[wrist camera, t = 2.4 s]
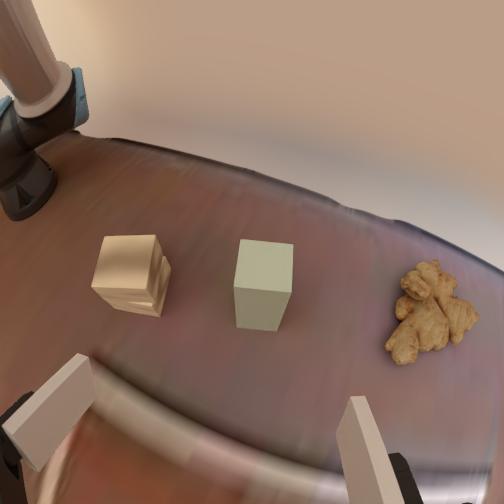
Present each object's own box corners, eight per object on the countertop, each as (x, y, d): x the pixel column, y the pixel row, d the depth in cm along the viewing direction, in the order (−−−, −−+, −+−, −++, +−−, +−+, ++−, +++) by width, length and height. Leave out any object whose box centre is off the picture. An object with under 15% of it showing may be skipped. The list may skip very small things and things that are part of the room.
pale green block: (241, 291, 37) (240, 239, 27) (279, 295, 37) (293, 244, 27) (236, 327, 34) (233, 286, 24) (276, 331, 34) (291, 292, 24)
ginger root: (452, 265, 39) (480, 249, 31) (452, 360, 34) (483, 359, 26) (373, 256, 40) (395, 236, 32) (369, 363, 35) (393, 366, 27)
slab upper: (115, 253, 35) (104, 236, 32) (163, 253, 35) (155, 234, 32) (105, 300, 31) (91, 286, 28) (156, 303, 32) (146, 288, 28)
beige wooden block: (128, 265, 39) (119, 250, 35) (172, 271, 39) (165, 256, 35) (114, 308, 35) (102, 297, 32) (160, 317, 35) (151, 306, 31)
